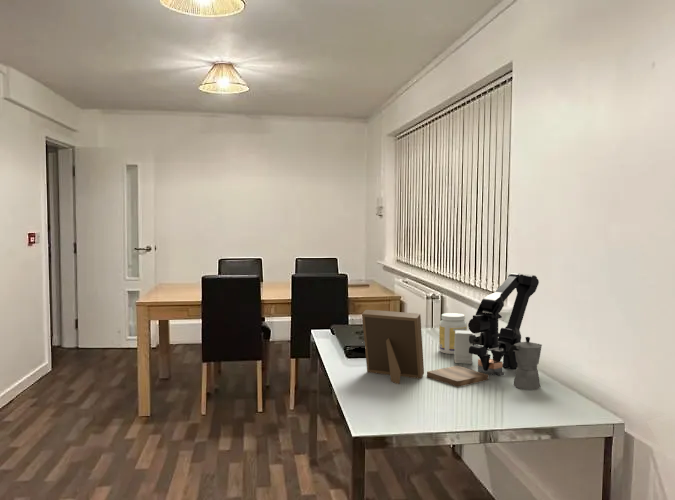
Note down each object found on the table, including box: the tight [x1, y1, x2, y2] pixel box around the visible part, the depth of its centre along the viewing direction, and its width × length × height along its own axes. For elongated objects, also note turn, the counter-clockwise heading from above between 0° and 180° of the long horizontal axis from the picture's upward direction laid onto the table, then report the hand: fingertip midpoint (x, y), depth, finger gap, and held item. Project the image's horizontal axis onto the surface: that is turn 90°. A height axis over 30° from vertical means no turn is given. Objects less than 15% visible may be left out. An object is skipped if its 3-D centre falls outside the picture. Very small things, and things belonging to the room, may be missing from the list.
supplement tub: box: [438, 312, 468, 355], centre depth 262 cm, size 12×12×17 cm
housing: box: [477, 358, 505, 377], centre depth 227 cm, size 5×10×5 cm, turn 34°
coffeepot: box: [508, 336, 543, 391], centre depth 208 cm, size 15×9×18 cm, turn 116°
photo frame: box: [361, 309, 425, 385], centre depth 220 cm, size 15×22×25 cm
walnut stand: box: [426, 365, 489, 388], centre depth 219 cm, size 16×16×2 cm
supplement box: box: [453, 330, 474, 365], centre depth 245 cm, size 7×7×13 cm
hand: (490, 369), depth 228 cm, fingers closed on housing, 5 cm apart
